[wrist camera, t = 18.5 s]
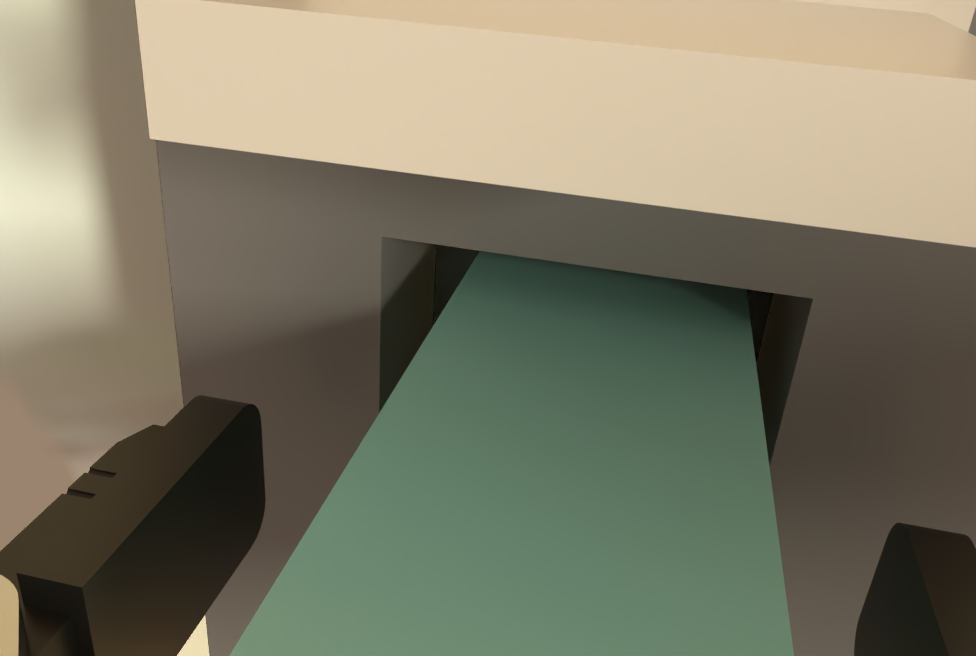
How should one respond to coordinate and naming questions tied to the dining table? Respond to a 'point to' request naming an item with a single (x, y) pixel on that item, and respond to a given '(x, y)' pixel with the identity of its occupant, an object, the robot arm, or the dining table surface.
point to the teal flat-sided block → (551, 484)
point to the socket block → (588, 242)
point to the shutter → (598, 98)
